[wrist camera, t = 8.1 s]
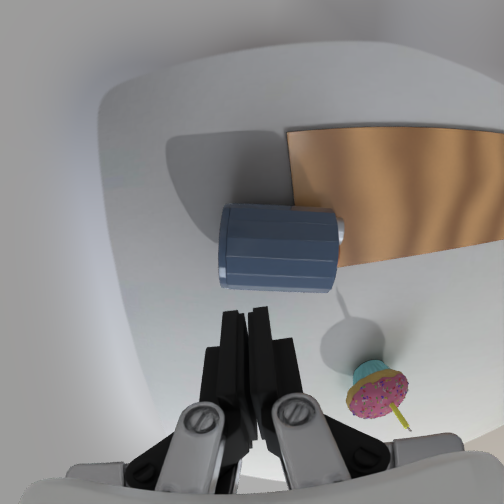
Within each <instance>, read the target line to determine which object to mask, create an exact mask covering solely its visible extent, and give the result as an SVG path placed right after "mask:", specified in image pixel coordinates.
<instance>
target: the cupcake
mask: <svg viewBox="0 0 504 504" xmlns="http://www.w3.org/2000/svg"><path fill="white" fill-rule="evenodd" d="M408 384H409V383H408V381H407V379H406V377H405V375H403V374H402V373H401V372H400V371H395V370H392V369H390V368H389V367H388V366H386V365H385V364H384V363H383V362H382V361H380V360H370V361H367V362H365V363H363V364H361V365H360V366H359V367H358V368H357V369H356V370H355V372H354V375H353V386H352V387H351V388H350V389H349V391H348V393H347V398H346V403H347V406H348V408H349V410H350V411H351V412H352V413H353V415H356V416H358V417H361V418H363V419H364V418H365V419H368V418H370V419H372V418H376V417H381V416H385V415H386V414H388V413H390V412H392V411H393V412H394V413H395V415H396V416H397V418H398V419H399V421H400V422H401V424H402V425H403V427H404V428H405V429H408V430H409V431H412V430H410V428H409V424H408V423H407V421H406V420H405V418H404V417H403V416H402V414H401V413H400V411H399V410H398V408H397V407H399V405H400V403H402V401H404V400H403V399H404V398H405V396H406V393H407V392H408Z"/></svg>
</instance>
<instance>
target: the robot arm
mask: <svg viewBox="0 0 504 504" xmlns="http://www.w3.org/2000/svg"><path fill="white" fill-rule="evenodd" d="M257 422H258V426H259V430H260V434H261V438H262V440H264V439H265V440H266V444H267V448H268V451H270V452H271V453H273V454H274V455H276V456H278V457H279V458H280V462H281V466H282V469H283V472H284V476H285V479H286V483H287V486H288V489H289V490H287V491H278V492H267V493H253V494H237V489H238V483H239V478H240V472H241V467H242V458H243V457H244V456H245V455H246V454H247V453H249V449H250V448H252V441H253V440H257V439H258V435H257ZM19 504H504V466H503V464H502V463H501V462H500V461H499V460H498V459H497V458H496V457H495V456H493V455H492V454H490V453H487V452H483V451H465V450H464V445H463V442H462V440H461V438H460V437H458V436H457V435H456V434H453V433H440V434H434V435H427V436H420V437H412V438H404V439H394V440H393V442H386V443H383V442H382V441H380V440H378V439H376V438H373V437H371V436H369V435H367V434H365V433H362V432H360V431H358V430H356V429H354V428H351V427H349V426H347V425H345V424H343V423H341V422H339V421H337V420H335V419H333V418H331V417H329V416H327V415H325V414H323V412H322V410H321V407H320V405H319V403H318V402H317V400H316V399H315V398H313V397H312V396H310V395H307V394H305V393H303V390H302V384H301V379H300V374H299V369H298V364H297V359H296V353H295V348H294V343H293V339H292V338H285V339H278V340H272V335H271V328H270V321H269V313H268V306H266V307H258V308H253V312H249V313H248V332H247V327H246V321H245V316H244V313H241V314H239V313H238V310H234V311H225V312H223V316H222V327H221V339H220V346H217V347H207V348H206V352H205V360H204V367H203V375H202V383H201V391H200V399H199V402H197V403H194V404H192V405H190V406H188V407H187V408H186V409H185V410H184V411H183V412H182V413H181V415H180V417H179V420H178V423H177V426H176V429H175V432H173V433H172V434H170V435H169V436H168V437H166V438H165V439H163V440H162V441H160V442H159V443H158V444H156V445H155V446H153V447H152V448H150V449H149V450H147V451H146V452H145V453H143V454H142V455H140V456H138V457H137V458H135V459H134V460H133V461H132V462H130V463H128V464H125V463H124V462H112V463H92V464H77V465H74V466H72V467H70V469H69V470H68V471H67V474H66V477H65V478H49V479H44V480H40V481H37V482H34V483H32V484H31V485H30V486H29V487H28V488H27V489H26V490H25V492H24V493H23V495H22V497H21V499H20V501H19Z"/></svg>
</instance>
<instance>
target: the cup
mask: <svg viewBox="0 0 504 504" xmlns="http://www.w3.org/2000/svg"><path fill="white" fill-rule="evenodd" d="M338 256H339V232H338V223H337V219H336V214H335V212H334V211H333V210H332V208H320V207H304V206H286V205H266V204H242V203H232V204H225V205H224V208H223V211H222V216H221V223H220V233H219V250H218V268H219V280H220V285H221V287H222V288H229V289H238V290H258V291H281V292H309V293H328V292H329V291H330V290H331V289H332V286H333V283H334V280H335V277H336V271H337V265H338Z"/></svg>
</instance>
